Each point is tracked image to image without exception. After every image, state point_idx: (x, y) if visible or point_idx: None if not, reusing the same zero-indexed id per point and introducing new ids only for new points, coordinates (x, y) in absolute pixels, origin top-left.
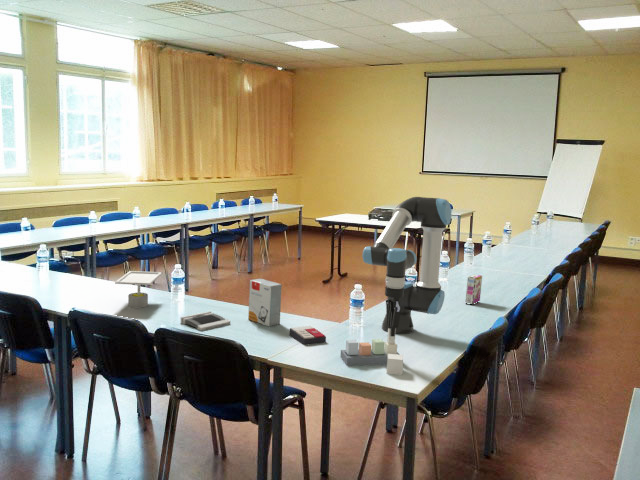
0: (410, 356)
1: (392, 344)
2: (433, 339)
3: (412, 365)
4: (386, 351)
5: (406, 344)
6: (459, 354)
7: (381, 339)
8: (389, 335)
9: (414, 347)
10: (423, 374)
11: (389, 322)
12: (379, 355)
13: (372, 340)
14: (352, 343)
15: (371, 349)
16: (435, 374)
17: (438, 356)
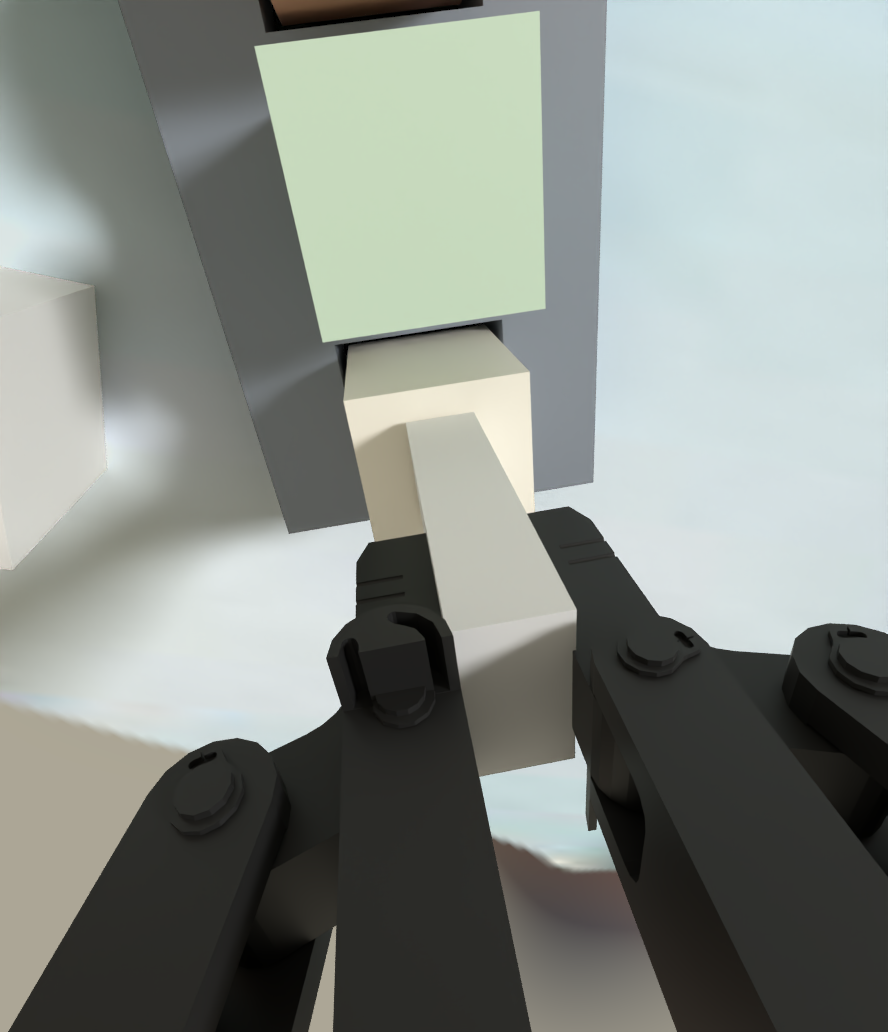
0: None
1: (398, 487)
2: None
3: (270, 582)
4: (392, 355)
5: (842, 604)
6: (554, 859)
7: (525, 303)
8: (424, 512)
9: (751, 651)
10: (24, 638)
11: (654, 798)
12: (276, 206)
13: (502, 20)
14: None
15: (589, 110)
16: (70, 719)
17: (521, 768)
